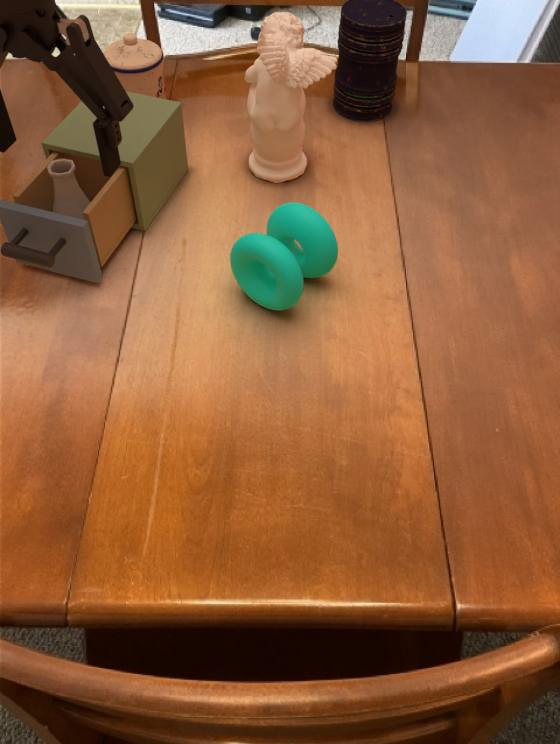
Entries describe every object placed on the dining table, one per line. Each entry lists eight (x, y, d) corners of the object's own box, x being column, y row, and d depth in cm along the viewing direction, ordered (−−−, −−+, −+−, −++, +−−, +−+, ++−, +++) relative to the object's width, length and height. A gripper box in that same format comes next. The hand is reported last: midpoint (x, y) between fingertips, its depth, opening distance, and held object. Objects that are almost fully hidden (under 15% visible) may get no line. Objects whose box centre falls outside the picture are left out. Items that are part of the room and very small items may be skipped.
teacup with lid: (171, 121, 107) (162, 48, 98) (112, 126, 106) (98, 52, 97) (166, 82, 114) (157, 10, 105) (111, 86, 113) (97, 14, 104)
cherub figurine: (267, 138, 104) (268, -14, 87) (342, 160, 101) (358, 6, 84) (230, 181, 98) (223, 26, 80) (309, 206, 95) (319, 49, 77)
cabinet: (145, 231, 91) (132, 163, 82) (61, 211, 93) (41, 142, 85) (188, 169, 99) (181, 102, 91) (110, 152, 102) (96, 85, 93)
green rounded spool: (226, 291, 84) (222, 228, 76) (276, 248, 89) (277, 185, 81) (291, 328, 80) (294, 266, 72) (339, 282, 85) (346, 218, 77)
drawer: (80, 308, 80) (63, 252, 74) (-4, 285, 83) (-28, 228, 76) (145, 216, 91) (136, 160, 84) (70, 198, 93) (54, 142, 86)
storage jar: (320, 108, 110) (327, 13, 98) (351, 83, 115) (361, -11, 103) (373, 129, 107) (387, 33, 95) (403, 102, 112) (420, 7, 100)
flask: (105, 251, 85) (88, 184, 77) (46, 252, 85) (24, 186, 77) (110, 214, 90) (95, 147, 82) (54, 215, 89) (34, 148, 81)
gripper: (-140, -51, 62) (-54, 153, 78) (108, -7, 57) (143, 199, 74) (-87, -79, 66) (-16, 119, 83) (147, -41, 62) (172, 161, 78)
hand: (59, 157), depth 78 cm, fingers open, 13 cm apart
